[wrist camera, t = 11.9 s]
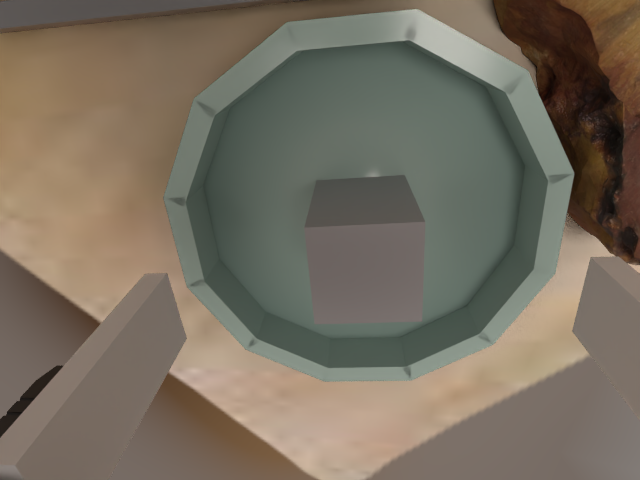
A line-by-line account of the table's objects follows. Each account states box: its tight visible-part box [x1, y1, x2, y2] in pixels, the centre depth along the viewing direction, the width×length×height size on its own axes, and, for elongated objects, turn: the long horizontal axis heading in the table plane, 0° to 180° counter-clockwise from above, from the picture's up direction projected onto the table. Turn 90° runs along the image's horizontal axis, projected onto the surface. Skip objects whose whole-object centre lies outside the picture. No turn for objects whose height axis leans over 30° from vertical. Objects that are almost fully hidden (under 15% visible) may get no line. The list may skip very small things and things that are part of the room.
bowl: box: [163, 9, 574, 382], centre depth 20 cm, size 18×18×4 cm
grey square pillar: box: [304, 175, 425, 324], centre depth 18 cm, size 4×4×6 cm
